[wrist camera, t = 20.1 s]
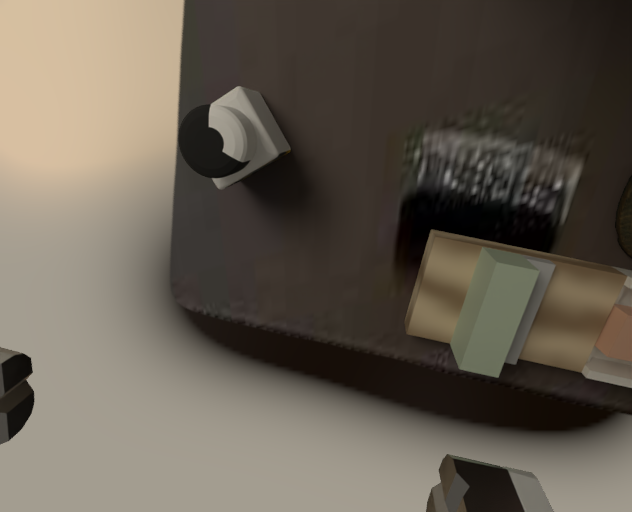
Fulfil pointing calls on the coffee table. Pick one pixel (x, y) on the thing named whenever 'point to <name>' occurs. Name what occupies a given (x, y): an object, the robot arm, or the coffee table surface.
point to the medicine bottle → (231, 137)
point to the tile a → (617, 334)
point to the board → (553, 313)
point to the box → (605, 366)
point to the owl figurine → (625, 219)
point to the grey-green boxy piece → (499, 310)
